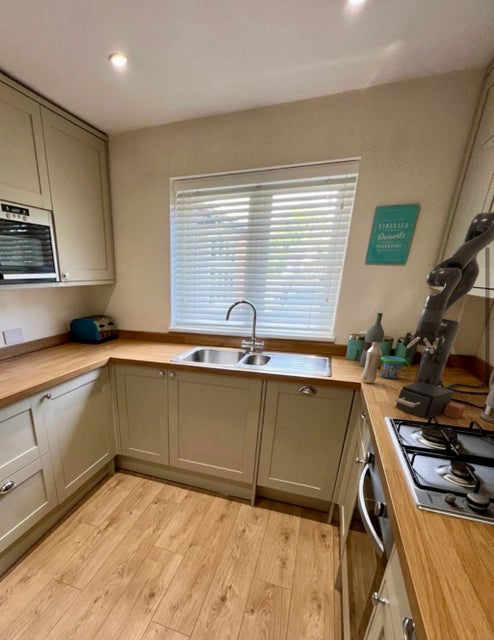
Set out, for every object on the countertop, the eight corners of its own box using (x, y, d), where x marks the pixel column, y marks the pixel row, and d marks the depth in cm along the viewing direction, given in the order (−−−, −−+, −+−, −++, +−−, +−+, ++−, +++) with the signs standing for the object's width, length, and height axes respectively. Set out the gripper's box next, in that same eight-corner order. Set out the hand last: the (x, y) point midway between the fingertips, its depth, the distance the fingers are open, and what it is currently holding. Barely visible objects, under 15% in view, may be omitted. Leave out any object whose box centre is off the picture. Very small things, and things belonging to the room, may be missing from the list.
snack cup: (404, 376, 175) (410, 358, 171) (407, 382, 166) (413, 362, 162) (371, 372, 181) (376, 354, 177) (372, 377, 172) (377, 358, 168)
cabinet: (427, 418, 125) (434, 396, 122) (396, 407, 135) (403, 386, 131) (446, 412, 131) (454, 390, 128) (416, 402, 140) (422, 382, 137)
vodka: (371, 368, 187) (385, 314, 176) (355, 364, 194) (367, 312, 183) (379, 366, 192) (392, 313, 181) (363, 362, 199) (375, 311, 188)
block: (449, 412, 131) (452, 402, 129) (461, 416, 127) (465, 406, 126) (443, 414, 129) (446, 404, 127) (455, 418, 125) (459, 408, 124)
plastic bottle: (367, 384, 160) (377, 344, 153) (356, 380, 166) (366, 341, 159) (377, 384, 162) (388, 343, 154) (367, 379, 168) (377, 340, 161)
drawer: (414, 419, 122) (420, 401, 119) (387, 409, 130) (392, 391, 128) (440, 411, 130) (447, 393, 127) (413, 401, 138) (418, 385, 135)
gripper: (455, 323, 129) (441, 363, 135) (417, 317, 141) (406, 355, 147) (444, 323, 126) (431, 364, 132) (406, 318, 137) (396, 356, 143)
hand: (418, 359), depth 139 cm, fingers open, 8 cm apart
